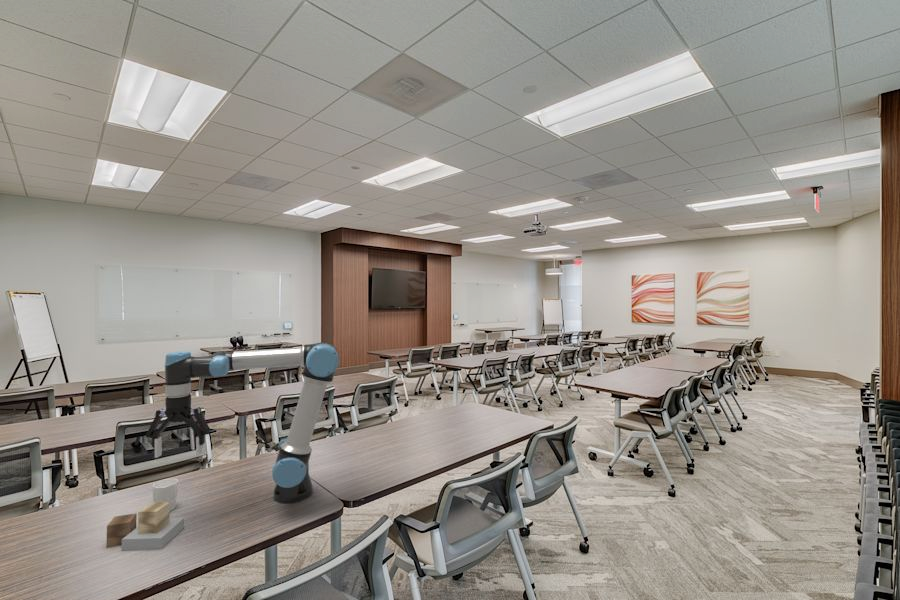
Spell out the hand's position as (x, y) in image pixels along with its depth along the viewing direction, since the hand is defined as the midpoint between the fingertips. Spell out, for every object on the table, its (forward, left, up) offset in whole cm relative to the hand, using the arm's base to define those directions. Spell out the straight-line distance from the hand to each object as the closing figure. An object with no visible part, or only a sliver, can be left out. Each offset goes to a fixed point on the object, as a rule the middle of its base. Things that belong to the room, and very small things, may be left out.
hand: (178, 455), depth 139 cm
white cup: (+12, -12, -25) cm, 30 cm away
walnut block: (+13, +8, -25) cm, 29 cm away
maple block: (+3, +8, -21) cm, 23 cm away
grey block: (+3, +8, -25) cm, 27 cm away
